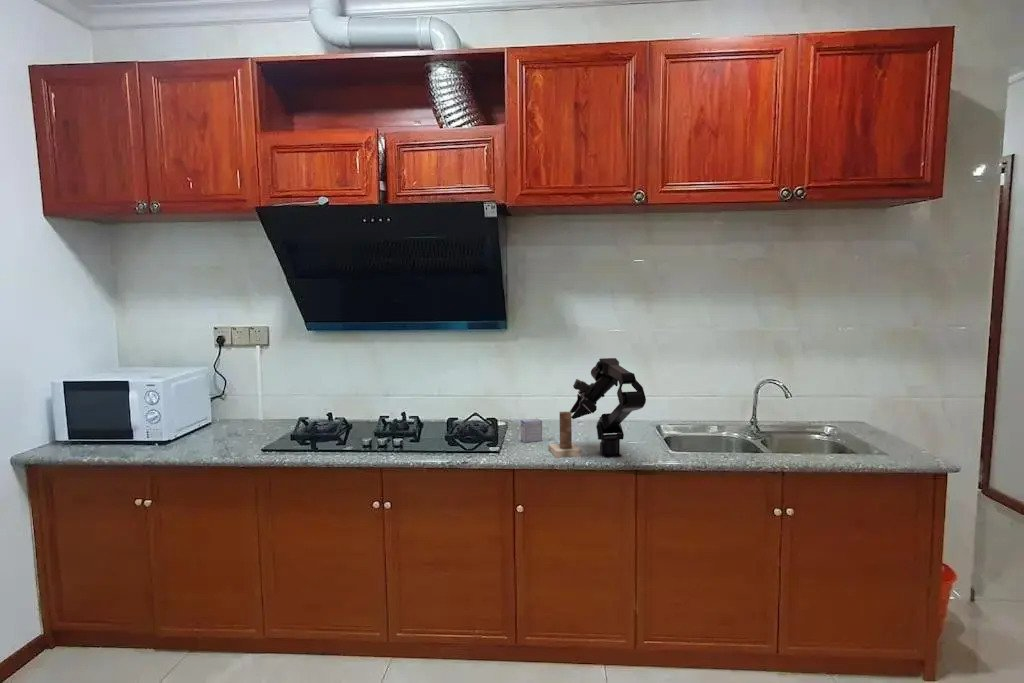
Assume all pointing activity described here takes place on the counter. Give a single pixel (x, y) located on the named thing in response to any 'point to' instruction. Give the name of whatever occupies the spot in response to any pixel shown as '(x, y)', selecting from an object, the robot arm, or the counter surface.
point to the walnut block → (565, 430)
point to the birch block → (565, 451)
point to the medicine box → (531, 430)
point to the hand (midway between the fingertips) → (571, 415)
